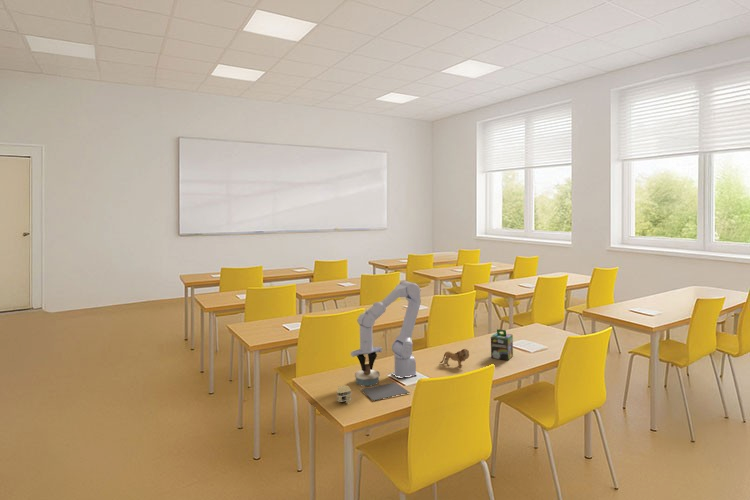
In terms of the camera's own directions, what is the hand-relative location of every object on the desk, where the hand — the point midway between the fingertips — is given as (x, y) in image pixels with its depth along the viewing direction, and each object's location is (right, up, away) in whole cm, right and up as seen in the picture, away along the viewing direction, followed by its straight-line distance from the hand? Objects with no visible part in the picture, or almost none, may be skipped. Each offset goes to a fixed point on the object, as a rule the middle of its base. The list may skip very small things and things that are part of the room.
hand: (367, 369), depth 206 cm
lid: (0, -3, 0) cm, 3 cm away
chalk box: (+69, -2, +31) cm, 76 cm away
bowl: (0, -6, 0) cm, 6 cm away
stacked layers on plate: (-9, -8, -20) cm, 23 cm away
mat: (+8, -7, -11) cm, 15 cm away
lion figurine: (+43, -3, +20) cm, 48 cm away
